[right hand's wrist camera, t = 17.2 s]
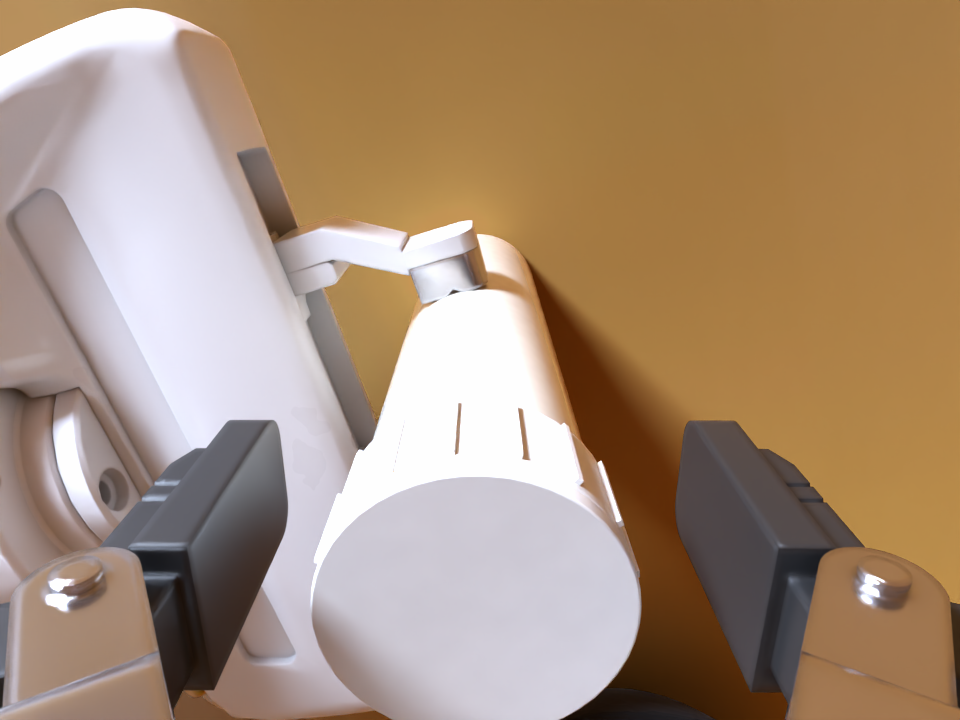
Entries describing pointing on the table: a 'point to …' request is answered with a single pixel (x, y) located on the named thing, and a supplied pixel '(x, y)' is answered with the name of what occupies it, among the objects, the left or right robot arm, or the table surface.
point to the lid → (476, 569)
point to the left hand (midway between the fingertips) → (509, 343)
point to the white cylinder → (481, 347)
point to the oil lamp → (635, 707)
